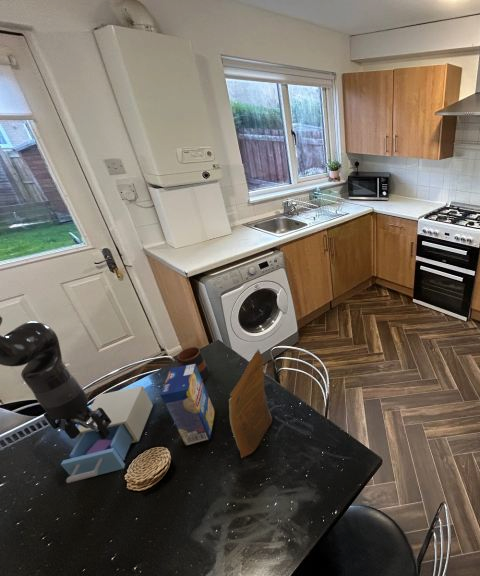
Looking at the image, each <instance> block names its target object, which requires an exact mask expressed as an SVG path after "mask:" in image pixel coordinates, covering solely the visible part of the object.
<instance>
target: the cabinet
mask: <svg viewBox="0 0 480 576" xmlns="http://www.w3.org/2000/svg"><path fill="white" fill-rule="evenodd" d="M153 406H154V405H153V403H152V401H151V399H150V397H149V396H148V393H147V392H146V390H145V388H144V386H143V385H139V386H135V387H134V386H133V387H130V388H124V389H120V390H115V391H110V392H105V393H101V394H96V397H95V398H94V400H93V402H92V403H91V405H90V407H89V408H90V409H91V410H97V409H98V408H102V409H103V410H104V412H105V413H106V414H107V416H108V417H109V418H110V420H111V421H112V422H111V423H110V424H109V425H108V426H107V428H108V427H112V426H116V425H120V424H125V426H126V428H127V429H128V431H129V432H130V434H131V436H132V437H133V440H132V442H131V444H134V443H135V444H136V443H139V441H140V440H141V436H142V434H143V431H144V429H145V426H146V424H147V422H148V419H149V416H150V414H151V411H152V409H153ZM91 421H92V420H91V417H90V419H89V420H88V421H87V422H86V423H90V422H91ZM93 425H95V426H97V425H96V423H95V422H94V423H93ZM77 428H78V429H79V431H80V434H79V435H78V436H77V437H76V438H77V439H78V440H79V438H80V436H81V435H82V433H86V432H90V431H94V430H93V429H91V428H84V427H83V426H81V425H77Z"/></svg>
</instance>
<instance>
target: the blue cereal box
mask: <svg viewBox="0 0 480 576" xmlns="http://www.w3.org/2000/svg"><path fill="white" fill-rule="evenodd" d="M175 367H176V366H175ZM175 367H172V368H171V367H170V369H169V371H168V374H167V376H166V379H165V382H164V384H163V387H162V389H161V392H160V394H159V396H160V398H161V400H162V401H163V404H164V405H165V407H166V409H167V412H168V413H169V415H170V417H171V419H172V421H173V424H174V425H175V428H176V430H177V431H178V433H179V436H180V437H181V439H182V441H183V443H184V445H185V446H189V445H193V444H196V443H200V442H204V441H208V440H211V436H212V431H213V425H214V419H215V412H216V411H215V408H214V406H213V403H212V401H211V399H210V397H209V393H208V391H207V389H206V388H207V387H206V386H205V383H204V380H203V381H202V378H201V376H200V373H199V371H198V368H197V366H196V363H195V364H190V365H185V366H181V367H176V368H175Z"/></svg>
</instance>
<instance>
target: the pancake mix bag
mask: <svg viewBox="0 0 480 576" xmlns="http://www.w3.org/2000/svg"><path fill="white" fill-rule="evenodd" d="M265 382H266V381H265V373H264V359H263V356H262V353H261V351H260V349H259V348H258V349H257V350H256V352H255V353H254V355H253V356H252V358H251V359H250V361H249V363H248V364H247V366H246V368H245V370H244V372H243V374H242V375H241V377H240V378H239V380H238V382H237V383H236V384H235V386H234V387H233V389H232V390H231V392H230V393H229V396H230V397H229V399H228V411H229V412H228V413H229V414H228V415H229V425H230V427H231V432H232V434H233V437H234V440H235V443H236V446H237V449H238V451H239V454H240V458H241V459H243V458H245V457H247V456H249V455H251V454H252V453H254V452H255V451H256V450H257V448H258V446H259V445H260V444H261V442H262V440H263V438H264V437H265V434H266V433H267V431H268V429H269V428H270V426H271V425H272V423H273V417H272V414H271V412H270V410H269V405H268V400H267V396H266V392H265Z"/></svg>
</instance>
